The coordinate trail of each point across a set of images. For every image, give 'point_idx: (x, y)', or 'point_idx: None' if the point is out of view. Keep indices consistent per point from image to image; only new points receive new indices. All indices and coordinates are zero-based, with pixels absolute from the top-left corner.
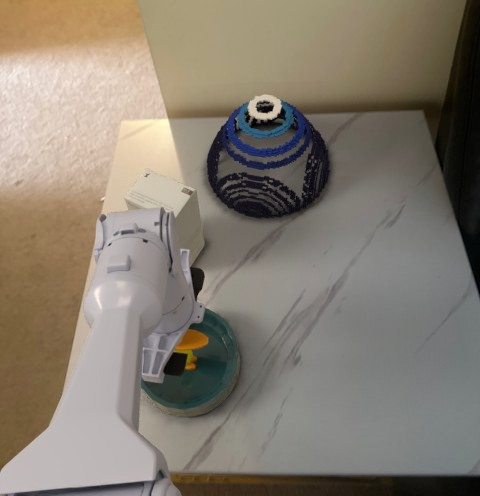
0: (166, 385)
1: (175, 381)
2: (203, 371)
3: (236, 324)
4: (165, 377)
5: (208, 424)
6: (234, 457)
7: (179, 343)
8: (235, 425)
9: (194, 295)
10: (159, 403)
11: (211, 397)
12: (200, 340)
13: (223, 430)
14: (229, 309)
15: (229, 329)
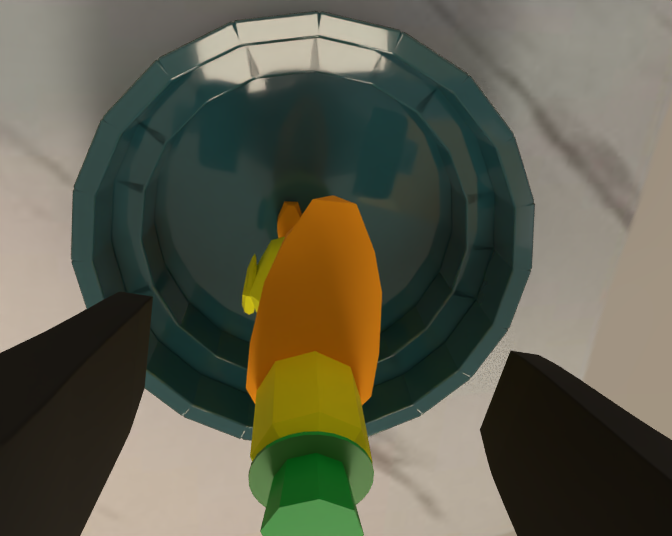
0: None
1: None
2: (339, 175)
3: (131, 26)
4: None
5: (521, 154)
6: (648, 60)
7: (344, 367)
8: (545, 51)
9: (17, 462)
10: (491, 351)
11: (510, 154)
12: (334, 251)
13: (552, 99)
14: (60, 57)
15: (188, 57)
